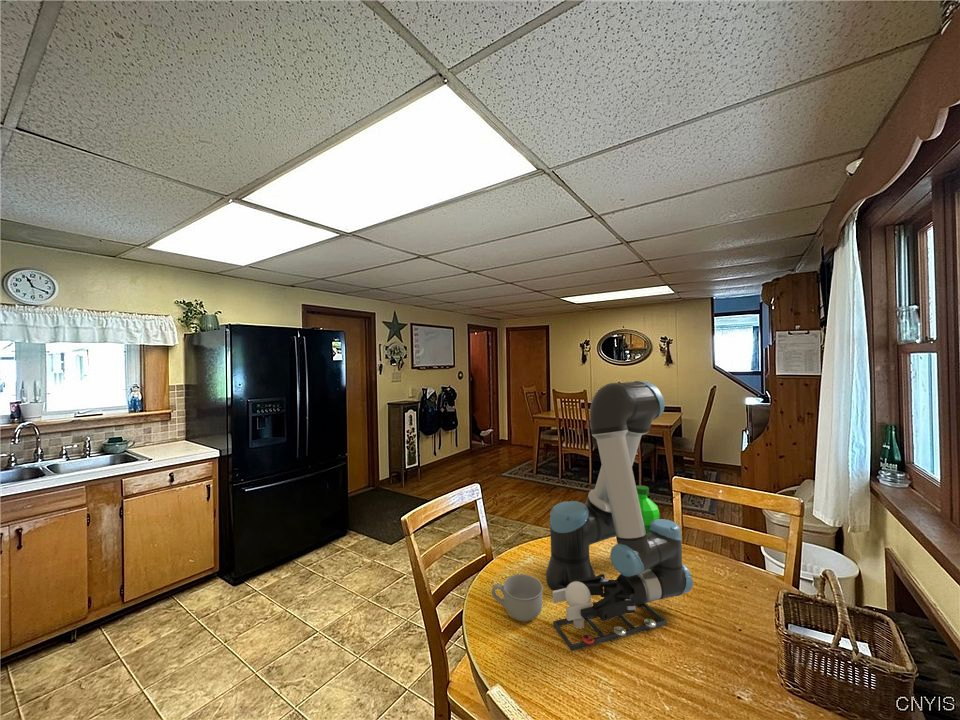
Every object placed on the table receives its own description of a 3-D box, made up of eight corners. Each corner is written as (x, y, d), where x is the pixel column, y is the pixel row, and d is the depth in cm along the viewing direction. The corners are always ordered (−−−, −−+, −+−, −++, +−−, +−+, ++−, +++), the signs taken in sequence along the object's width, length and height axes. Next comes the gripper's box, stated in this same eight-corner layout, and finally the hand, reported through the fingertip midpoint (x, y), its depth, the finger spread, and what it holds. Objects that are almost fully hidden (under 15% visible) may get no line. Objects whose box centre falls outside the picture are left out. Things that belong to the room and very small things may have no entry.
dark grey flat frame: (553, 626, 98) (553, 619, 98) (641, 604, 106) (641, 598, 106) (573, 654, 88) (573, 647, 88) (669, 628, 96) (669, 621, 96)
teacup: (546, 605, 106) (545, 577, 106) (539, 632, 96) (538, 600, 96) (498, 597, 111) (498, 569, 111) (487, 621, 100) (486, 590, 100)
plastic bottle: (656, 572, 121) (654, 494, 121) (623, 562, 128) (621, 488, 128) (664, 559, 129) (662, 486, 129) (632, 550, 136) (630, 480, 136)
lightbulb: (589, 619, 98) (588, 576, 98) (594, 636, 91) (592, 591, 91) (564, 618, 98) (563, 575, 98) (567, 635, 92) (566, 590, 92)
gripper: (666, 625, 91) (581, 648, 84) (615, 581, 109) (542, 598, 103) (664, 593, 91) (580, 614, 84) (614, 555, 109) (542, 570, 103)
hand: (560, 605), depth 93 cm, fingers closed on lightbulb, 6 cm apart
